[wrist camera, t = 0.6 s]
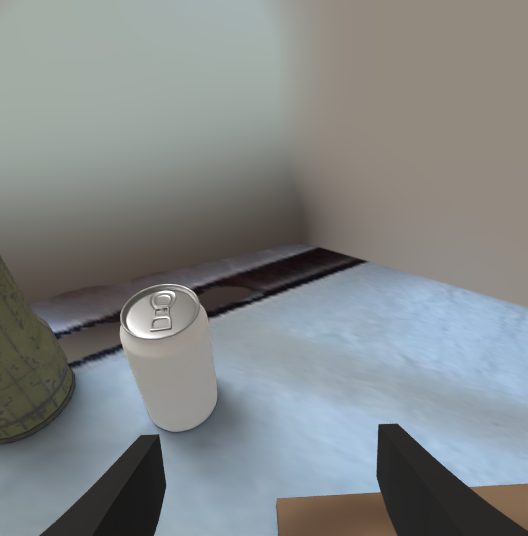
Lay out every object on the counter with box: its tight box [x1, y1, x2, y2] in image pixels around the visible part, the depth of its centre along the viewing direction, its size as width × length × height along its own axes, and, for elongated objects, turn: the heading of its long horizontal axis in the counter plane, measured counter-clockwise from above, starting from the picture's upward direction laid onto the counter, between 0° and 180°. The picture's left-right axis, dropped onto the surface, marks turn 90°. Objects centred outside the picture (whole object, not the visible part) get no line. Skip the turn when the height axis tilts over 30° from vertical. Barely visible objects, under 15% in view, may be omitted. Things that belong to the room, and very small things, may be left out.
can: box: [120, 284, 218, 432], centre depth 28 cm, size 6×6×12 cm
